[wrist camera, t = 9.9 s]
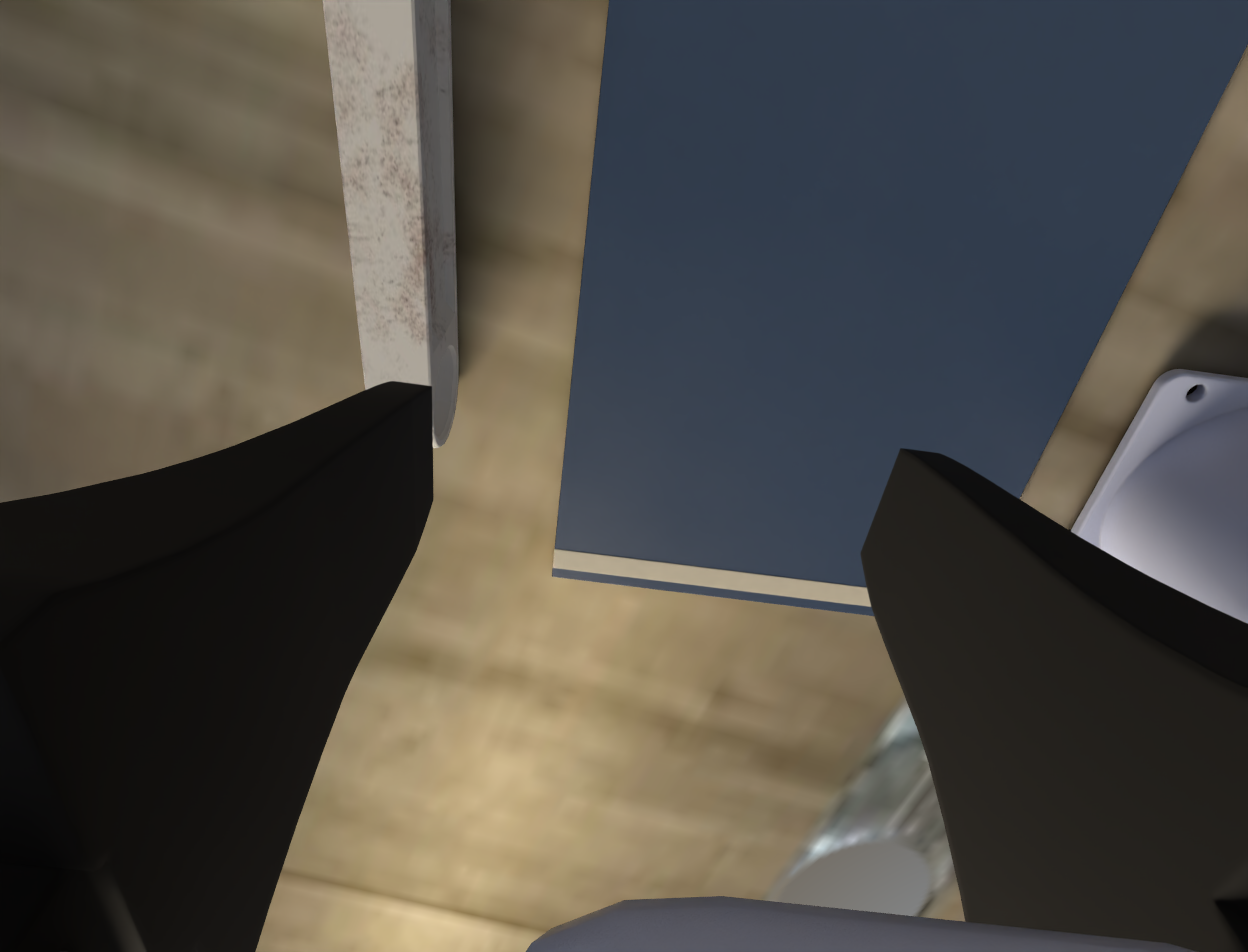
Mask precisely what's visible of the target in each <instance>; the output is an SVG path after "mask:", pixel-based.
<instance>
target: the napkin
mask: <svg viewBox="0 0 1248 952" xmlns="http://www.w3.org/2000/svg"><path fill="white" fill-rule="evenodd" d="M1247 45H1248V0H609V7H608V17H607V27H606V37H605V47H604V58H603V68H602V78H601V88H600V98H599V108H598V118H597V128H596V138H595V148H594V158H593V168H592V178H591V188H590V198H589V208H588V218H587V229H586V239H585V249H584V259H583V269H582V279H581V289H580V299H579V309H578V319H577V329H576V339H575V349H574V359H573V369H572V379H571V389H570V399H569V410H568V420H567V430H566V440H565V450H564V460H563V470H562V480H561V490H560V500H559V510H558V520H557V530H556V540H555V550H554V560H553V570H552V577H559V578H567V579H575V580H584V581H592V582H600V583H608V584H616V585H625V586H633V587H641V588H649V589H657V590H665V591H674V592H682V593H690V594H698V595H706V596H714V597H723V598H731V599H739V600H747V601H755V602H764V603H772V604H780V605H788V606H796V607H804V608H813V609H821V610H829V611H837V612H845V613H854V614H862V615H870V616H874V613H873V611H872V608H871V604H870V599H869V595H868V591H867V586H866V582H865V576H864V571H863V565H862V560H861V555H860V553H861V550H862V548H863V545H864V542H865V540H866V537H867V534H868V532H869V529H870V527H871V524H872V521H873V519H874V516H875V513H876V511H877V508H878V506H879V503H880V500H881V498H882V495H883V492H884V490H885V487H886V485H887V482H888V479H889V477H890V474H891V472H892V469H893V466H894V464H895V461H896V458H897V456H898V453H899V451H900V448H905V449H912V450H920V451H927V452H935V453H940V454H943V455H945V456H947V457H949V458H952V459H954V460H955V461H957V462H959V463H961V464H963V465H965V466H967V467H968V468H970V469H972V470H973V471H975V472H977V473H978V474H980V475H982V476H983V477H985V478H987V479H988V480H990V481H991V482H993V483H995V484H996V485H998V486H999V487H1001V488H1002V489H1004V490H1006V491H1007V492H1009V493H1010V494H1012V495H1014V496H1015V497H1017V498H1018V499H1019V498H1020V496H1021V494H1022V492H1023V490H1024V488H1025V486H1026V484H1027V482H1028V480H1029V478H1030V476H1031V474H1032V472H1033V470H1034V468H1035V466H1036V464H1037V462H1038V460H1039V458H1040V456H1041V454H1042V453H1043V451H1044V449H1045V447H1046V445H1047V443H1048V441H1049V439H1050V437H1051V435H1052V433H1053V431H1054V429H1055V427H1056V425H1057V423H1058V421H1059V419H1060V417H1061V415H1062V413H1063V411H1064V409H1065V407H1066V405H1067V403H1068V401H1069V399H1070V397H1071V395H1072V393H1073V391H1074V389H1075V387H1076V385H1077V383H1078V381H1079V379H1080V377H1081V375H1082V373H1083V371H1084V369H1085V367H1086V365H1087V363H1088V361H1089V359H1090V357H1091V355H1092V353H1093V351H1094V349H1095V347H1096V345H1097V343H1098V341H1099V339H1100V337H1101V335H1102V333H1103V331H1104V329H1105V327H1106V325H1107V323H1108V321H1109V319H1110V317H1111V315H1112V313H1113V311H1114V309H1115V307H1116V305H1117V303H1118V301H1119V299H1120V297H1121V295H1122V293H1123V291H1124V289H1125V287H1126V285H1127V283H1128V281H1129V279H1130V277H1131V275H1132V273H1133V271H1134V269H1135V267H1136V265H1137V264H1138V262H1139V260H1140V258H1141V256H1142V254H1143V252H1144V250H1145V248H1146V246H1147V244H1148V242H1149V240H1150V238H1151V236H1152V234H1153V232H1154V230H1155V228H1156V226H1157V224H1158V222H1159V220H1160V218H1161V216H1162V214H1163V212H1164V210H1165V208H1166V206H1167V204H1168V202H1169V200H1170V198H1171V196H1172V194H1173V192H1174V190H1175V188H1176V186H1177V184H1178V182H1179V180H1180V178H1181V176H1182V174H1183V172H1184V170H1185V168H1186V166H1187V164H1188V162H1189V160H1190V158H1191V156H1192V154H1193V152H1194V150H1195V148H1196V146H1197V144H1198V142H1199V140H1200V138H1201V136H1202V134H1203V132H1204V130H1205V128H1206V126H1207V124H1208V122H1209V120H1210V118H1211V116H1212V114H1213V112H1214V110H1215V108H1216V106H1217V104H1218V102H1219V100H1220V98H1221V96H1222V94H1223V92H1224V90H1225V88H1226V86H1227V84H1228V82H1229V80H1230V78H1231V76H1232V75H1233V73H1234V71H1235V69H1236V67H1237V65H1238V63H1239V61H1240V59H1241V57H1242V55H1243V53H1244V51H1245V49H1246V47H1247Z"/></svg>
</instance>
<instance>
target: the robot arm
mask: <svg viewBox="0 0 1248 952" xmlns="http://www.w3.org/2000/svg"><path fill="white" fill-rule="evenodd" d="M1195 385H1198V386H1197V389H1196V390H1195V391H1194V392H1193V393H1191V394H1189V395H1187V392H1188V391H1189V389H1190V388H1191V387H1193V386H1195ZM1186 395H1187V396H1186ZM432 502H433V427H432V386H427V385H420V384H412V383H405V382H397V381H389V382H385V383H382V384H379V385H377V386H374V387H372V388H369V389H367V390H365V391H362V392H360V393H358V394H355V395H353V396H351V397H349V398H347V399H344V400H342V401H340V402H338V403H335V404H333V405H331V406H329V407H327V408H324V409H322V410H320V411H318V412H315V413H313V414H311V415H309V416H306V417H304V418H302V419H300V420H297V421H295V422H293V423H290V424H288V425H285V426H283V427H280V428H278V429H275V430H272V431H270V432H267V433H265V434H262V435H260V436H257V437H255V438H252V439H250V440H247V441H245V442H242V443H240V444H237V445H235V446H232V447H229V448H226V449H223V450H220V451H217V452H214V453H211V454H208V455H205V456H202V457H199V458H196V459H193V460H189V461H186V462H182V463H179V464H176V465H172V466H169V467H165V468H162V469H159V470H155V471H151V472H147V473H144V474H140V475H135V476H131V477H126V478H122V479H117V480H113V481H108V482H104V483H99V484H95V485H91V486H86V487H82V488H77V489H73V490H68V491H64V492H59V493H54V494H49V495H43V496H38V497H32V498H26V499H20V500H14V501H8V502H3V503H0V952H255V951H256V948H257V945H258V942H259V938H260V935H261V932H262V929H263V925H264V922H265V919H266V916H267V913H268V909H269V906H270V903H271V900H272V897H273V894H274V891H275V888H276V885H277V882H278V879H279V876H280V873H281V870H282V867H283V864H284V861H285V858H286V855H287V852H288V849H289V846H290V843H291V840H292V837H293V834H294V831H295V828H296V825H297V822H298V819H299V817H300V814H301V811H302V808H303V805H304V803H305V800H306V797H307V794H308V791H309V789H310V786H311V783H312V780H313V777H314V775H315V772H316V769H317V766H318V763H319V761H320V758H321V755H322V752H323V750H324V747H325V744H326V742H327V739H328V737H329V734H330V731H331V729H332V726H333V723H334V721H335V718H336V716H337V713H338V710H339V708H340V705H341V702H342V700H343V697H344V695H345V692H346V690H347V688H348V685H349V683H350V681H351V679H352V677H353V675H354V672H355V670H356V668H357V666H358V664H359V662H360V660H361V658H362V656H363V654H364V652H365V650H366V648H367V646H368V644H369V642H370V641H371V639H372V637H373V635H374V633H375V631H376V629H377V627H378V625H379V623H380V621H381V619H382V617H383V615H384V613H385V612H386V610H387V608H388V606H389V604H390V602H391V600H392V598H393V596H394V594H395V592H396V590H397V588H398V586H399V584H400V582H401V580H402V578H403V576H404V574H405V572H406V570H407V569H408V567H409V565H410V563H411V561H412V558H413V556H414V554H415V552H416V550H417V547H418V544H419V541H420V539H421V536H422V533H423V530H424V527H425V524H426V521H427V518H428V515H429V512H430V509H431V505H432ZM860 555H861V560H862V565H863V571H864V576H865V582H866V586H867V591H868V595H869V599H870V604H871V608H872V611H873V613H874V616H875V619H876V622H877V624H878V627H879V630H880V633H881V635H882V638H883V641H884V643H885V646H886V649H887V651H888V654H889V656H890V659H891V662H892V664H893V667H894V669H895V672H896V675H897V677H898V680H899V682H900V685H901V688H902V690H903V693H904V695H905V698H906V700H907V703H908V706H909V708H910V711H911V713H912V716H913V719H914V721H915V724H916V726H917V729H918V732H919V735H920V738H921V741H922V744H923V747H924V750H925V753H926V756H927V759H928V762H929V766H930V770H931V774H932V778H933V782H934V786H935V789H936V793H937V797H938V801H939V805H940V809H941V813H942V816H943V820H944V824H945V829H946V833H947V838H948V842H949V846H950V851H951V855H952V860H953V864H954V869H955V873H956V877H957V882H958V886H959V891H960V895H961V901H962V906H963V911H964V916H965V921H966V922H962V921H952V920H943V919H933V918H924V917H914V916H905V915H895V914H886V913H877V912H867V911H857V910H848V909H838V908H829V907H819V906H810V905H800V904H791V903H782V902H772V901H763V900H753V899H744V898H734V897H725V896H716V897H691V898H665V899H640V900H624V901H621V902H618V903H616V904H613V905H611V906H608V907H606V908H603V909H600V910H598V911H595V912H593V913H590V914H587V915H585V916H582V917H580V918H577V919H575V920H572V921H569V922H567V923H564V924H562V925H559V926H556V927H554V928H551V929H550V930H548V931H547V932H546V933H545V934H543V935H542V936H541V937H539V938H538V939H537V940H535V941H534V942H533V943H531V945H530V946H529V948H528V949H527V951H526V952H1248V378H1243V377H1236V376H1229V375H1221V374H1214V373H1207V372H1200V371H1193V370H1185V369H1173V370H1170V371H1167V372H1165V373H1164V374H1162V375H1161V376H1159V377H1158V379H1157V380H1156V381H1155V382H1154V384H1153V385H1152V387H1151V389H1150V391H1149V393H1148V394H1147V396H1146V398H1145V400H1144V401H1143V403H1142V405H1141V407H1140V409H1139V410H1138V412H1137V414H1136V416H1135V417H1134V419H1133V421H1132V423H1131V424H1130V426H1129V428H1128V430H1127V432H1126V433H1125V435H1124V437H1123V439H1122V440H1121V442H1120V444H1119V446H1118V448H1117V449H1116V451H1115V453H1114V455H1113V456H1112V458H1111V460H1110V462H1109V464H1108V465H1107V467H1106V469H1105V471H1104V472H1103V474H1102V476H1101V478H1100V480H1099V481H1098V483H1097V485H1096V487H1095V488H1094V490H1093V492H1092V494H1091V495H1090V497H1089V499H1088V501H1087V503H1086V504H1085V506H1084V508H1083V510H1082V511H1081V513H1080V515H1079V517H1078V519H1077V520H1076V522H1075V524H1074V526H1073V527H1072V529H1071V531H1069V530H1068V529H1066V528H1064V527H1063V526H1061V525H1059V524H1058V523H1056V522H1055V521H1053V520H1051V519H1050V518H1048V517H1047V516H1045V515H1043V514H1042V513H1040V512H1039V511H1037V510H1036V509H1034V508H1032V507H1031V506H1029V505H1028V504H1026V503H1024V502H1023V501H1021V500H1020V499H1018V498H1017V497H1015V496H1014V495H1012V494H1010V493H1009V492H1007V491H1006V490H1004V489H1002V488H1001V487H999V486H998V485H996V484H995V483H993V482H991V481H990V480H988V479H987V478H985V477H983V476H982V475H980V474H978V473H977V472H975V471H973V470H972V469H970V468H968V467H967V466H965V465H963V464H961V463H959V462H957V461H955V460H954V459H952V458H949V457H947V456H945V455H943V454H940V453H935V452H927V451H920V450H912V449H905V448H900V451H899V453H898V456H897V458H896V461H895V464H894V466H893V469H892V472H891V474H890V477H889V479H888V482H887V485H886V487H885V490H884V492H883V495H882V498H881V500H880V503H879V506H878V508H877V511H876V513H875V516H874V519H873V521H872V524H871V527H870V529H869V532H868V534H867V537H866V540H865V542H864V545H863V548H862V550H861V553H860Z"/></svg>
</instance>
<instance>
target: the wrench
mask: <svg viewBox="0 0 1248 952" xmlns="http://www.w3.org/2000/svg"><path fill="white" fill-rule="evenodd" d="M323 9H324V18H325V27H326V36H327V45H328V54H329V63H330V72H331V81H332V91H333V100H334V109H335V118H336V127H337V136H338V145H339V154H340V163H341V172H342V182H343V191H344V200H345V209H346V218H347V227H348V236H349V245H350V254H351V263H352V272H353V282H354V291H355V300H356V309H357V318H358V327H359V336H360V345H361V354H362V364H363V373H364V381H365V390H367V389H369V388H372V387H374V386H377V385H379V384H382V383H385V382H389V381H397V382H405V383H412V384H420V385H427V386H432V427H433V448H438V447H440V446H442V445H443V444H444V443H445V442H446V440H447V438H448V436H449V433H450V430H451V427H452V423H453V419H454V415H455V409H456V402H457V395H458V381H459V357H458V320H457V274H456V234H455V193H454V146H453V97H452V48H451V0H323Z"/></svg>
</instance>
